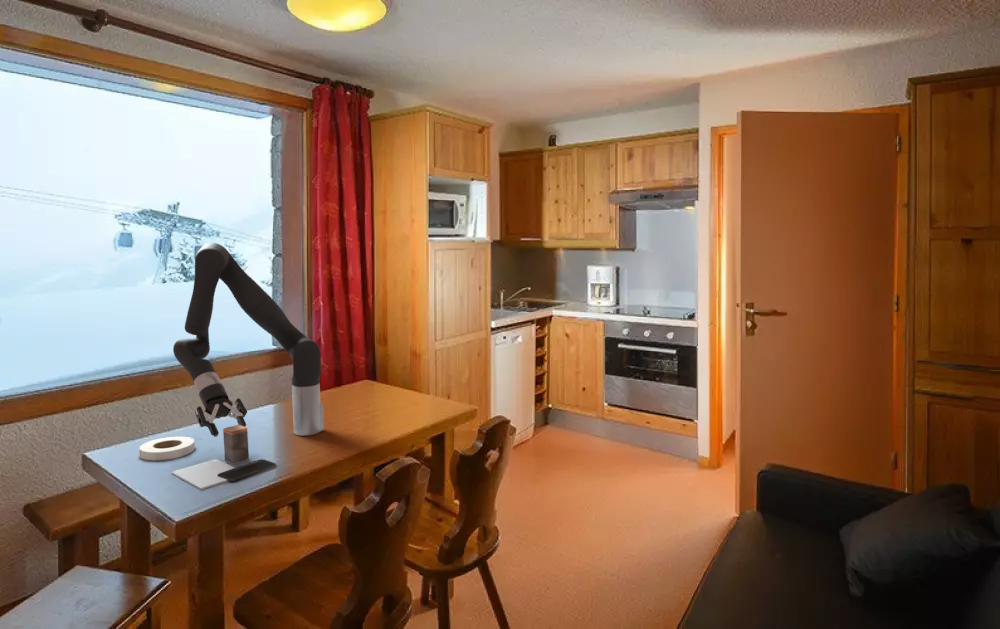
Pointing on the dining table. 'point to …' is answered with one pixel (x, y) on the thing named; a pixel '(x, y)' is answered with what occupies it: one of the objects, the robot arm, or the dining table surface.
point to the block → (236, 444)
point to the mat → (204, 474)
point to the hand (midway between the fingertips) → (230, 431)
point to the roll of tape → (166, 448)
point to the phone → (247, 470)
